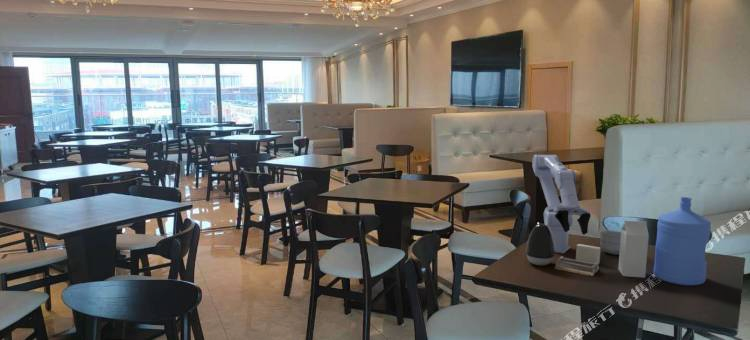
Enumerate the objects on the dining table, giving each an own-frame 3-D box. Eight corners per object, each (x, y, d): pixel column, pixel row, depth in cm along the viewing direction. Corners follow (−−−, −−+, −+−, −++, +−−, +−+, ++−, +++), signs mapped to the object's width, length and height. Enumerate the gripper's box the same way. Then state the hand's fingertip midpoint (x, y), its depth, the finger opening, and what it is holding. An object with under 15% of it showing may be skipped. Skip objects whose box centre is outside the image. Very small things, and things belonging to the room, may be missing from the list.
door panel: (577, 259, 204) (578, 243, 203) (599, 263, 199) (600, 247, 198) (575, 260, 202) (576, 245, 201) (598, 264, 197) (599, 248, 197)
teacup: (593, 250, 214) (594, 231, 213) (612, 247, 219) (614, 228, 218) (622, 260, 202) (623, 240, 201) (642, 256, 206) (643, 236, 205)
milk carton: (645, 278, 183) (649, 224, 180) (623, 276, 185) (627, 223, 182) (639, 271, 190) (643, 219, 187) (618, 269, 192) (622, 218, 189)
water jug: (678, 288, 174) (686, 204, 170) (642, 272, 189) (649, 194, 185) (716, 283, 178) (725, 201, 174) (678, 268, 193) (685, 192, 189)
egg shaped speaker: (550, 259, 203) (552, 220, 201) (556, 268, 193) (559, 227, 190) (523, 258, 204) (524, 219, 202) (527, 267, 194) (529, 226, 191)
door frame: (562, 262, 200) (562, 255, 199) (598, 269, 192) (599, 261, 192) (554, 268, 192) (555, 261, 192) (592, 276, 185) (593, 268, 185)
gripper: (559, 191, 196) (565, 225, 189) (592, 196, 199) (600, 230, 193) (548, 199, 201) (553, 232, 195) (580, 205, 205) (587, 237, 198)
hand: (576, 232), depth 194 cm, fingers open, 7 cm apart
